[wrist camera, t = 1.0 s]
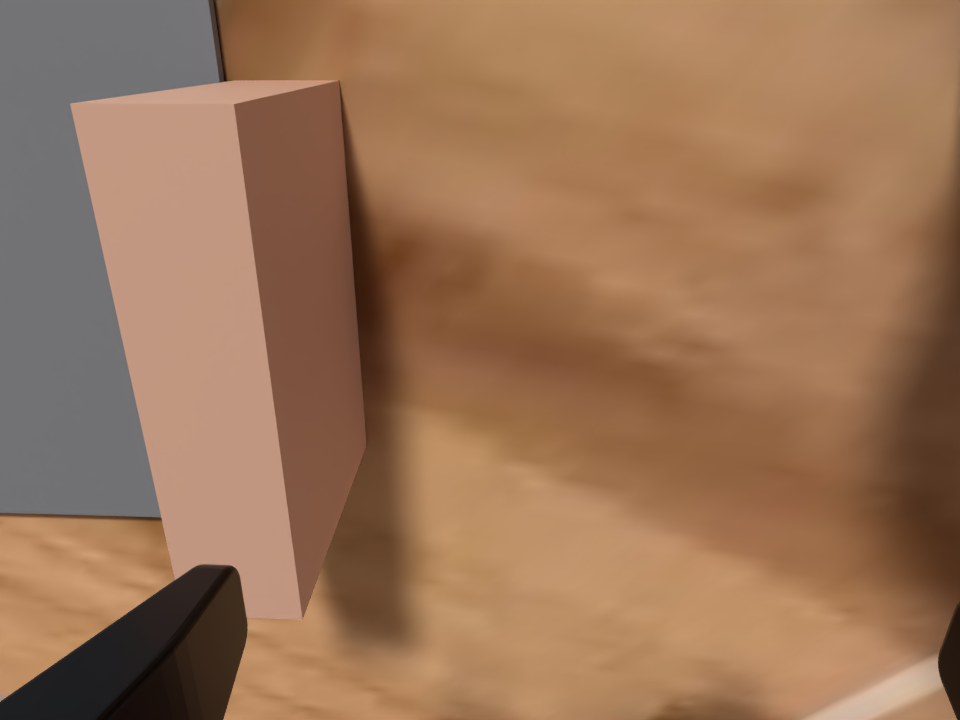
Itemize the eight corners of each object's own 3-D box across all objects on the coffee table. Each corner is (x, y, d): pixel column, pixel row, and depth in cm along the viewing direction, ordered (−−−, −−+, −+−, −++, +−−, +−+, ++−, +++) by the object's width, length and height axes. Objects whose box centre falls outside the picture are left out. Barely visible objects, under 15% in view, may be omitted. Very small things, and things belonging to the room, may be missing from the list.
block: (339, 80, 17) (233, 104, 11) (367, 444, 21) (302, 619, 15) (235, 80, 17) (70, 103, 11) (283, 442, 21) (182, 615, 15)
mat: (207, -39, 16) (202, -41, 16) (283, 514, 22) (280, 520, 22) (-303, -37, 17) (-317, -38, 16) (-92, 504, 23) (-100, 509, 22)
